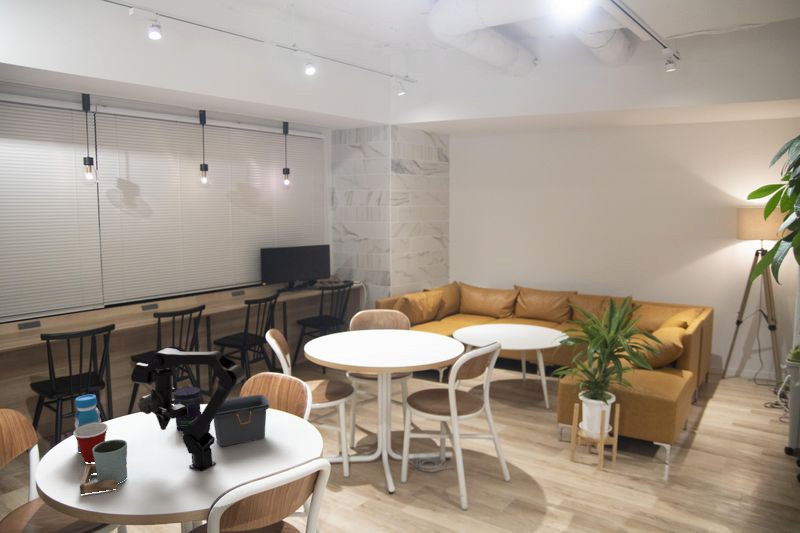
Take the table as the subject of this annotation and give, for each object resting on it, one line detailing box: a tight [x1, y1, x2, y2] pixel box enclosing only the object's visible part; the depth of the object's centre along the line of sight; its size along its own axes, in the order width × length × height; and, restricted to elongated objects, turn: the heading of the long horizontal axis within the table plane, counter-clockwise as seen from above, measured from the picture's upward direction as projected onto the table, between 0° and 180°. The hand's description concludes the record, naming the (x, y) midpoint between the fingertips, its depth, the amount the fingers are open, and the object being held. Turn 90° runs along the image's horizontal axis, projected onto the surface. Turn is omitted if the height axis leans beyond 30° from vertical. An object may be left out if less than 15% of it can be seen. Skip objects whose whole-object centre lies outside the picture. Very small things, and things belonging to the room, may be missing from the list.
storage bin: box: [213, 394, 271, 447], centre depth 223 cm, size 21×16×14 cm
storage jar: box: [173, 386, 202, 433], centre depth 236 cm, size 10×10×15 cm
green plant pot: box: [92, 439, 128, 484], centre depth 193 cm, size 10×10×12 cm
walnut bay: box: [79, 464, 118, 494], centre depth 192 cm, size 10×15×4 cm
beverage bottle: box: [74, 394, 102, 453], centre depth 216 cm, size 8×8×20 cm
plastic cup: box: [72, 422, 109, 463], centre depth 208 cm, size 11×11×12 cm
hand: (163, 429), depth 204 cm, fingers closed
